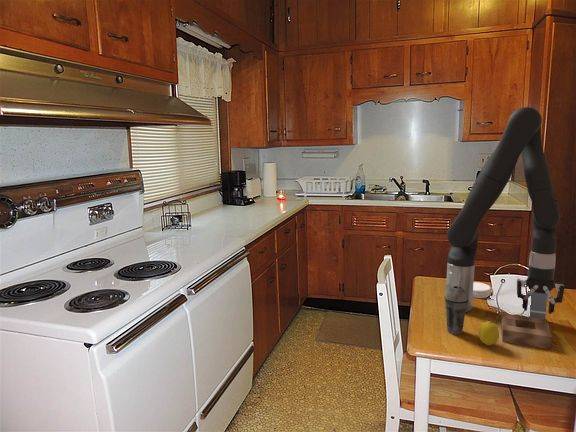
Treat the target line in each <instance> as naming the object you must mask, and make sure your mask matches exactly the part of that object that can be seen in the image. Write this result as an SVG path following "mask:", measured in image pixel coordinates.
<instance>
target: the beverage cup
mask: <svg viewBox="0 0 576 432" xmlns="http://www.w3.org/2000/svg"><path fill="white" fill-rule="evenodd" d="M460 279H461V273H460V274H459V281H458V286H453V287H451V288H449V289H448V290H447V291H446V290H445V293H446V294H444V305H445V304H446V308H445V313H446V314H445V317H446V329H447V333H448V334H451V335H453V336H454V335H456V336H459V335H461V334H463V329H464V323H465V317H466V307H467V304H468V295H467V293H466V291H465V290H464V289H463V288H461V287H459V286H460Z"/></svg>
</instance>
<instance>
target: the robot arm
mask: <svg viewBox="0 0 576 432" xmlns="http://www.w3.org/2000/svg"><path fill="white" fill-rule="evenodd" d="M542 122H543V118H542V114H541V112H540V111H538V110H537V109H536V108H534V107H530V106H524V107H519V108H516V109H515V110H514V111H513V112H512V113H511V114H510V116H509V117H508V120H507V124H506V126H505V128H504V131H503V133H502V135H501V138H500V140H499V142H498V144H497V146H496V147H495V149H494V150H493V151H492V153H491V154H490V156H488V158H487V160H486V162H485V163H484V165H483V166H482V168H481V169H480V172H479V173H478V175H477V177H476V179H475V180H474V183H473V184H472V186H471V189H470V191H469V193H468V195H467V197H466V200H465V202H464V205H463V206H462V208H461V210H460V211H459V213H458V214H457V216H456V217H455V219H454V220H453V222H452V223H451V224H450V226H449V227H448V229H447V231H446V239H447V241H448V243H449V245H450V247H449V252H448V254H447V263H446V265H447V266H446V267H447V269H446V283H445V294H446V291H447V290H448V289H449V288H451V287H453V286H458V281H459V274H460V273H461V279H460V286H459V287H461V288H463V289H464V290H465V291H466V293H467V295H468V304H467V307H466V312H468V313H469V312H470V311H472V310H473V300H474V299H473V298H474V297H473V283H474V282H475V281H474V280H475V279H474V278H475V265H476V263H475V262H476V258H477V253H478V241H479V229H478V228H479V225H480V224H481V222H482V219H483V218H484V217H485V216H486V214H487V213H488V212H489V210H490V209H491V208H492V206H494V204H495V203H496V201H497V200H498V199H499V198H500V196H501V195H502V193H503V191H504V189H505V188H506V186H507V184H508V183H509V181H510V179H511V177H512V174H513V173H514V170H515V167H516V165H517V163H518V160H519V157H520V156H521V157H522V164H523V165H522V166H523V173H524V179H525V185H526V188H527V192H528V195H529V198H530V201H531V206H532V211H533V213H532V239H531V246H530V253H529V258H528V269H527V270H528V271H527V278H526V280H522V279H519V278H517V279H516V294H517V295H516V296H517V298H519V299H521V300H522V301H523V304H521V307H522V310H524V311H525V312H527V310H528V302H529V301H528V299H530V296H531V295H532V292H540V293H546V294H548V297H547V299H549V301H548V310H547V311H548V315H552V313H554V312H555V306H556V304H558V303H559V304H561V303H562V302H563V298H564V293H565V285H564V284H563V283H555V280H554V279H555V271H556V259H557V258H556V257H557V256H556V251H557V236H556V230H557V226H558V225H559V223H560V220H561V214H560V211H559V208H558V204H557V201H556V197H555V194H554V187H553V182H552V178H551V173H550V170H549V167H548V163H547V159H546V155H545V152H544V147H543V139H542V125H543V123H542ZM525 285H526V286H527V287H528V288H529V289H530V291H528V292H527V294H526V295H523V293H522V288H523V287H524V286H525ZM554 288H556V291H557V293H556V297H554V296H553V294H552V292H551V291H552V290H553V289H554ZM445 294H444V295H445ZM444 309H446V304H445V303H444ZM466 312H465V313H466Z"/></svg>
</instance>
